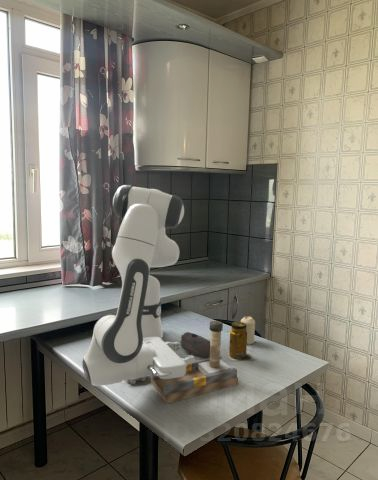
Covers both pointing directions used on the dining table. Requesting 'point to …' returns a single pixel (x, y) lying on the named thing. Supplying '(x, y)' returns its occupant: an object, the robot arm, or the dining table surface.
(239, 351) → the condiment
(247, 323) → the candle
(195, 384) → the press base
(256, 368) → the dining table surface
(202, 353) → the perforated stone tool
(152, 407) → the dining table surface
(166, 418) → the dining table surface
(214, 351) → the press handle
